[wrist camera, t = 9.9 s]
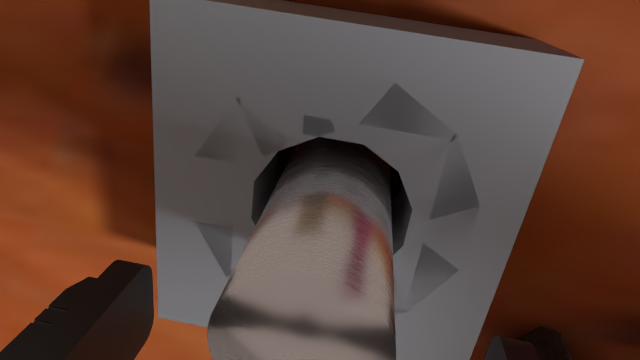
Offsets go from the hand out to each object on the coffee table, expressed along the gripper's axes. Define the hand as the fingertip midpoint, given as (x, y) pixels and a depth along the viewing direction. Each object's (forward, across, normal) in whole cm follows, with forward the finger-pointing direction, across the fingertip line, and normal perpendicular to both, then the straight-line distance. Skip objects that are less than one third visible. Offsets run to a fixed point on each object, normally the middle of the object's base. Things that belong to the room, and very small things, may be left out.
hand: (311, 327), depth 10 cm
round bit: (+9, 0, 0) cm, 9 cm away
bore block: (+9, 0, 0) cm, 9 cm away
